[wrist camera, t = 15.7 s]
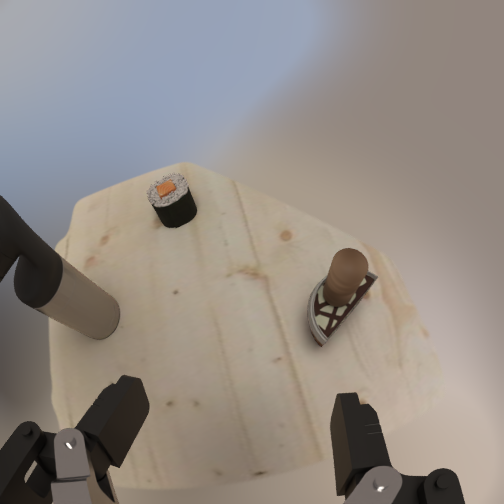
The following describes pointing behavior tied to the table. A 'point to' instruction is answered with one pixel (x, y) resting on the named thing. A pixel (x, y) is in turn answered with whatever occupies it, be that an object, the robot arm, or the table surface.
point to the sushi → (172, 200)
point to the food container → (332, 309)
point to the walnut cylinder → (344, 276)
